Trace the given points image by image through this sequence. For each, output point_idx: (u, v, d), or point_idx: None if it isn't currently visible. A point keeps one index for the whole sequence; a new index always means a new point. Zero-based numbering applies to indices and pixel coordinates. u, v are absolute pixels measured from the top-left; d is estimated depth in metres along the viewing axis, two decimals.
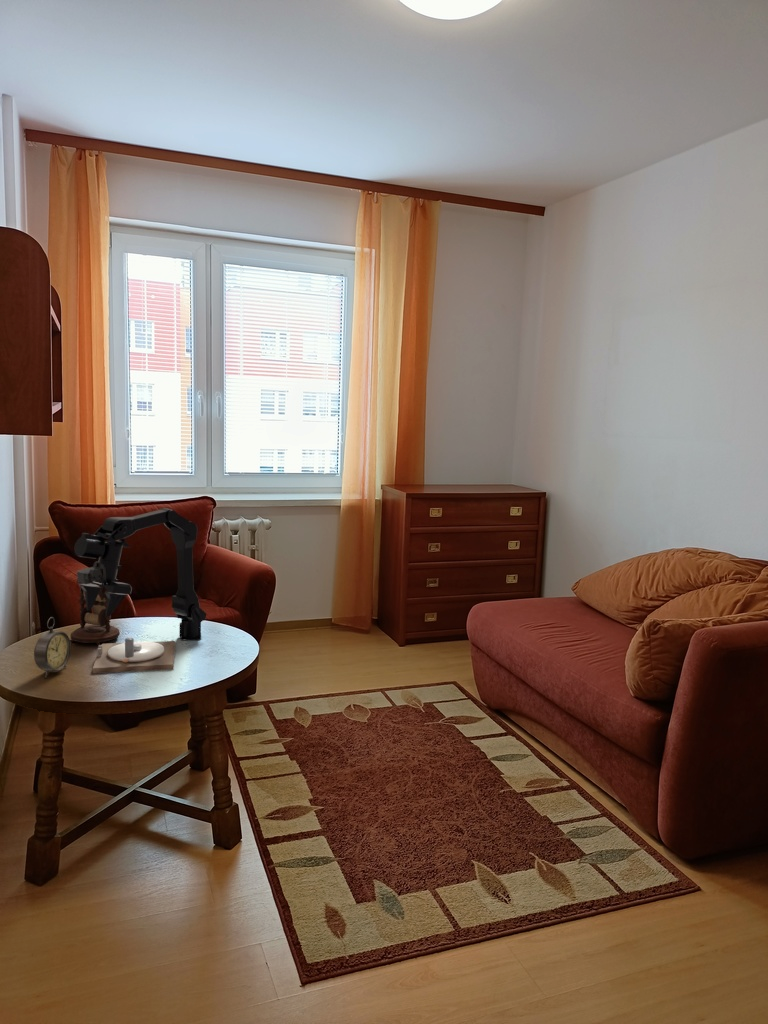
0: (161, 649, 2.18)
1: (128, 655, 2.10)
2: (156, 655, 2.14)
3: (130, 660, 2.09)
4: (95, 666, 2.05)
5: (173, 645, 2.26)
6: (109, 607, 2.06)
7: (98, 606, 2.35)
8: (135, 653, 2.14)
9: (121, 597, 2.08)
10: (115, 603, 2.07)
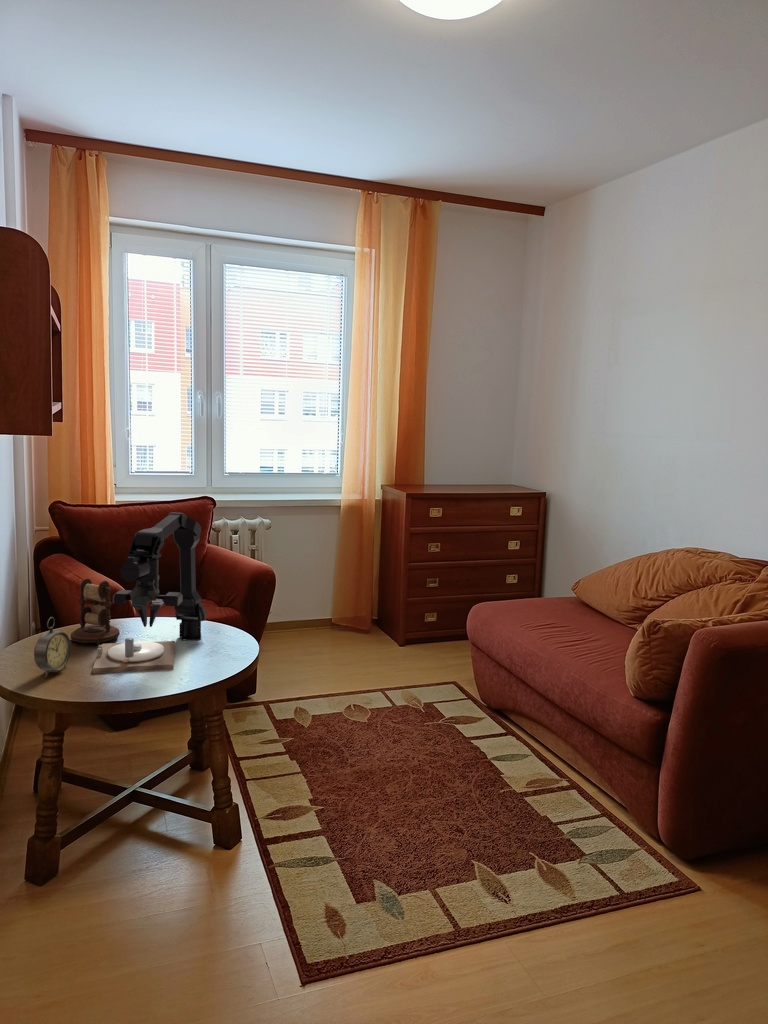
0: (161, 649, 2.18)
1: (128, 655, 2.10)
2: (156, 655, 2.14)
3: (130, 660, 2.09)
4: (95, 666, 2.05)
5: (173, 645, 2.26)
6: (153, 618, 2.09)
7: (98, 606, 2.35)
8: (135, 653, 2.14)
9: None
10: (156, 613, 2.10)
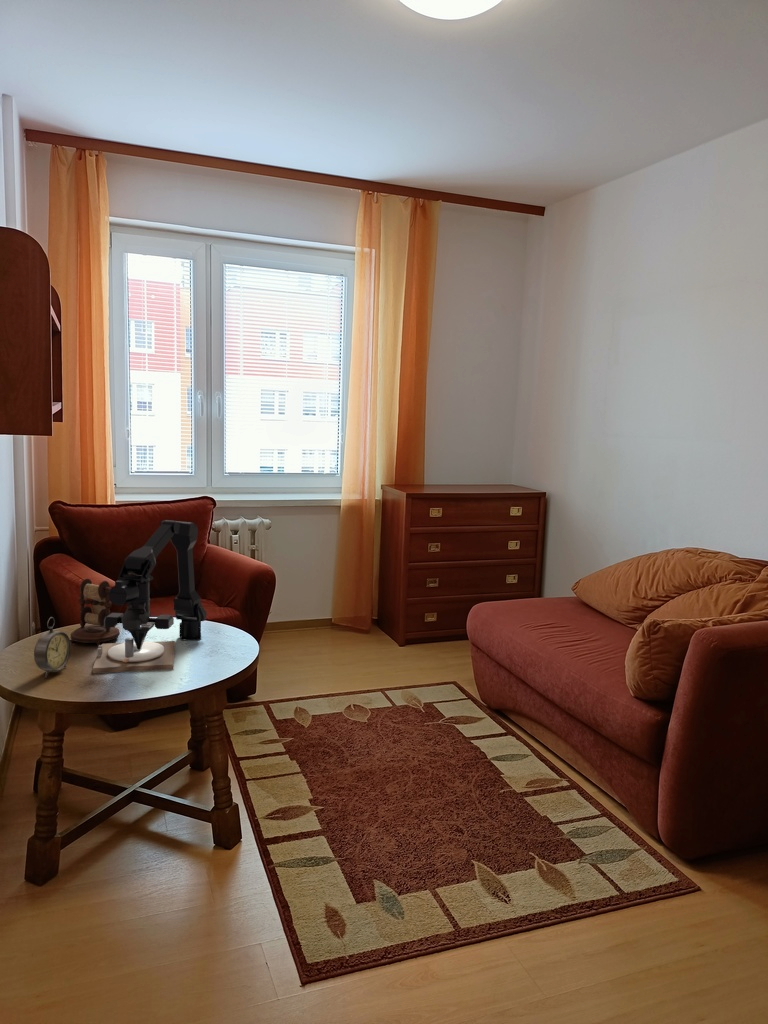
0: (161, 649, 2.18)
1: (128, 655, 2.10)
2: (156, 655, 2.14)
3: (130, 660, 2.09)
4: (95, 666, 2.05)
5: (173, 645, 2.26)
6: (142, 641, 2.10)
7: (98, 606, 2.35)
8: (135, 653, 2.14)
9: None
10: (144, 635, 2.11)
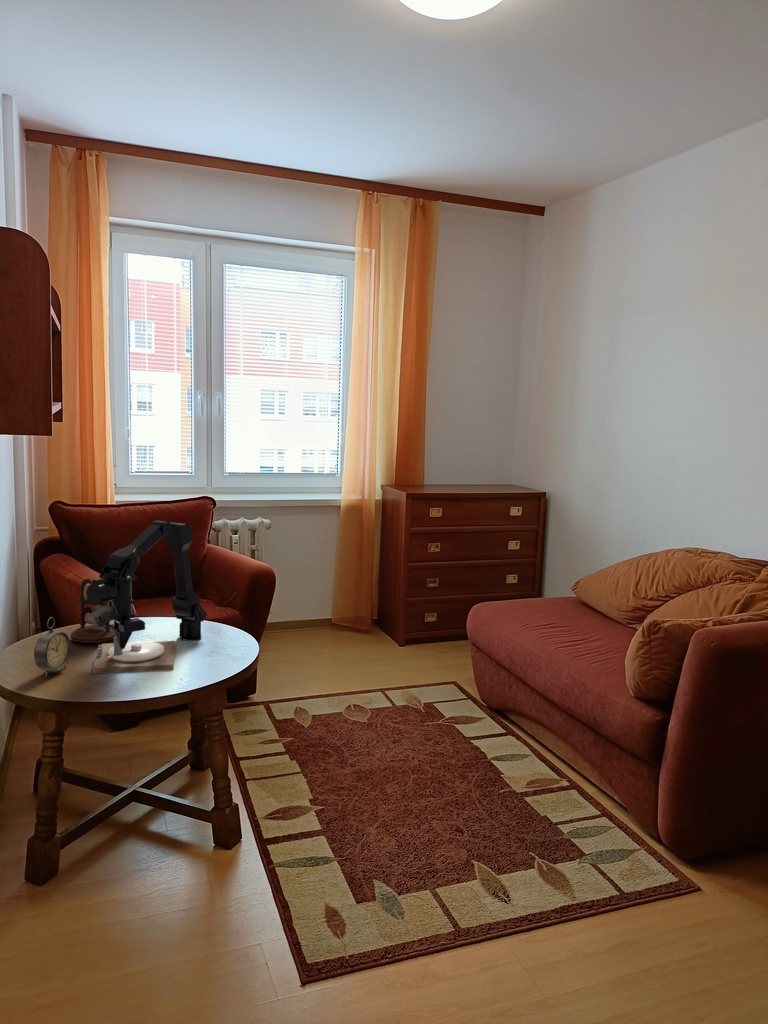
0: (153, 654, 2.14)
1: (114, 653, 2.11)
2: (139, 659, 2.10)
3: (113, 658, 2.11)
4: (95, 666, 2.05)
5: (173, 645, 2.26)
6: (121, 641, 2.09)
7: (98, 606, 2.35)
8: (127, 652, 2.14)
9: None
10: (126, 636, 2.10)
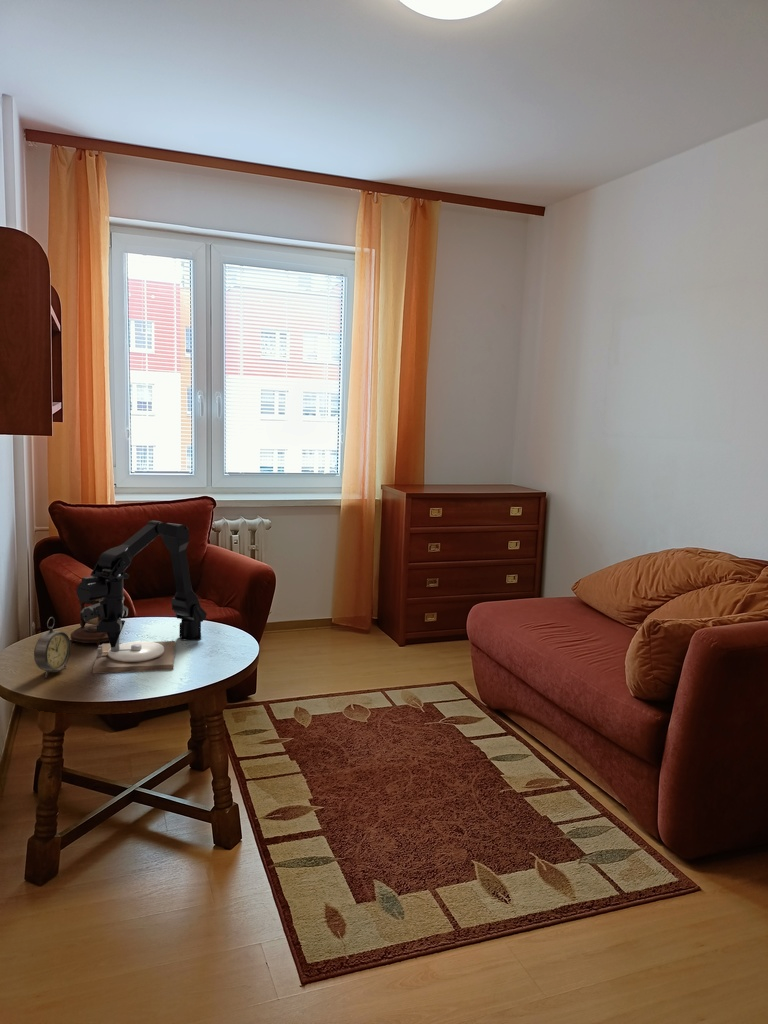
0: (139, 657, 2.11)
1: (111, 648, 2.15)
2: (122, 659, 2.09)
3: (108, 654, 2.14)
4: (95, 666, 2.05)
5: (173, 645, 2.26)
6: (110, 639, 2.09)
7: None
8: (123, 651, 2.15)
9: None
10: (115, 635, 2.09)
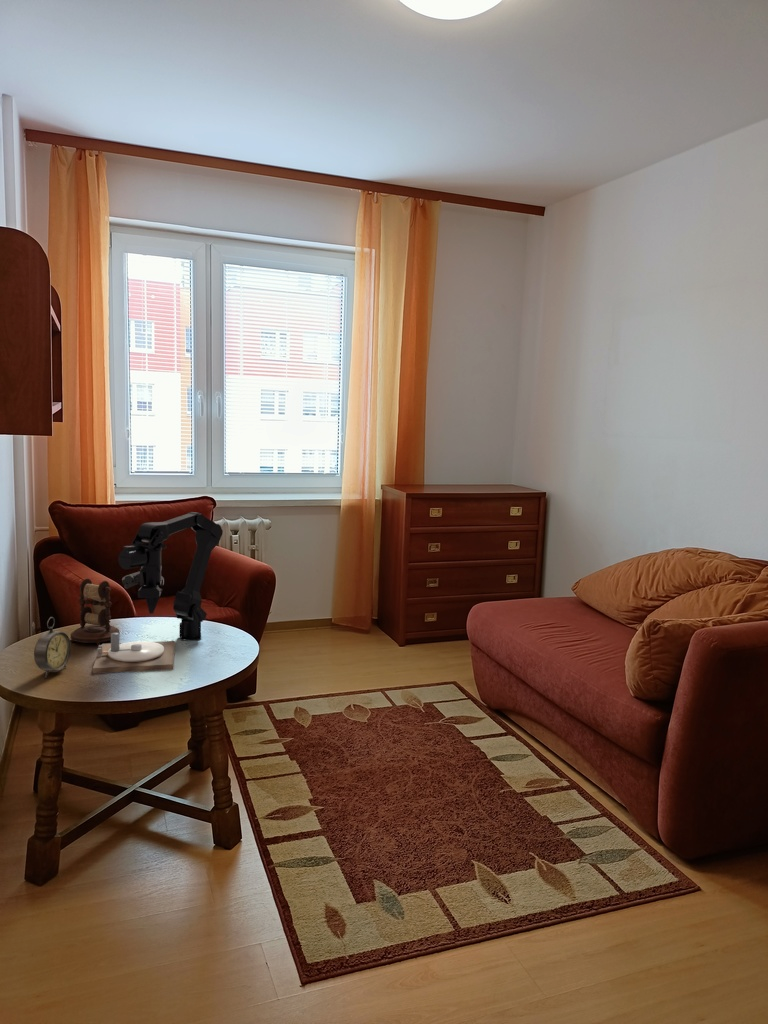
0: (139, 657, 2.11)
1: (111, 648, 2.15)
2: (122, 659, 2.09)
3: (108, 654, 2.14)
4: (95, 666, 2.05)
5: (173, 645, 2.26)
6: (148, 606, 2.22)
7: (98, 606, 2.35)
8: (123, 651, 2.15)
9: None
10: (153, 602, 2.22)
